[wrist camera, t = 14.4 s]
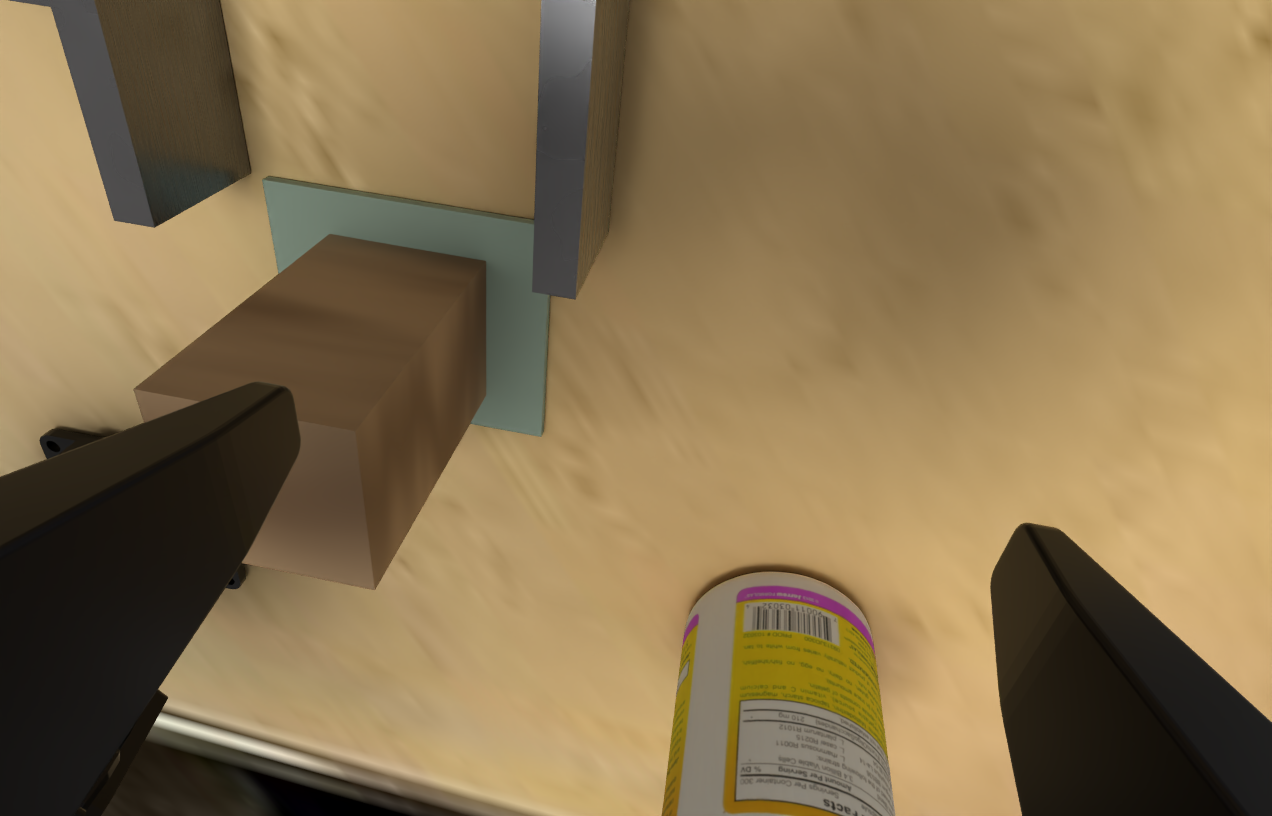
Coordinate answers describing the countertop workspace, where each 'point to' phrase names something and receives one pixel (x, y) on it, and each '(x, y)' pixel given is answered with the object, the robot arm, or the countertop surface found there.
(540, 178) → the bent rails
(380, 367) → the walnut block
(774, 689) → the supplement bottle
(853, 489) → the countertop surface
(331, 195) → the mat
